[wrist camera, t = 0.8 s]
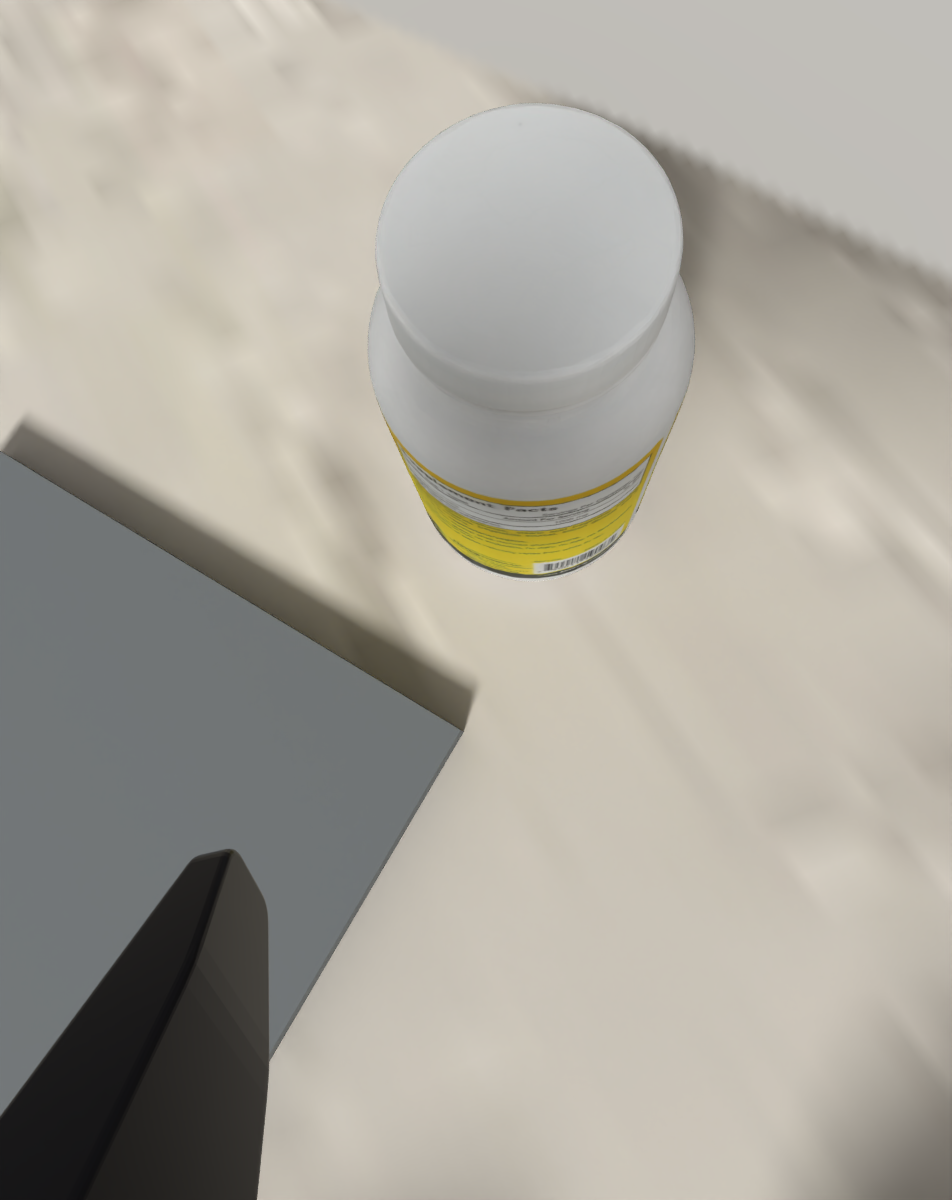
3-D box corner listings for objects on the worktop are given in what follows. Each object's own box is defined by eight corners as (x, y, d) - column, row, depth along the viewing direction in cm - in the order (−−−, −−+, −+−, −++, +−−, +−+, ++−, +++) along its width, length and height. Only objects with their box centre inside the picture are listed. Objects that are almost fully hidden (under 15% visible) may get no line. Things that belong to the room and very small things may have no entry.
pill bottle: (494, 344, 24) (463, -5, 13) (680, 443, 23) (816, 157, 12) (380, 517, 23) (245, 302, 12) (568, 628, 22) (604, 503, 11)
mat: (463, 731, 22) (460, 730, 21) (170, 1228, 20) (152, 1252, 19) (7, 455, 24) (-15, 442, 23) (-290, 872, 22) (-328, 878, 21)
